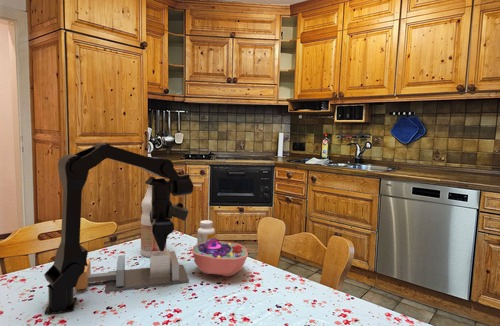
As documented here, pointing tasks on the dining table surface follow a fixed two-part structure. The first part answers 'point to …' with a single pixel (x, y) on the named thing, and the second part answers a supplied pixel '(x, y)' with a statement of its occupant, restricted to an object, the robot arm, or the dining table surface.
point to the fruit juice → (147, 226)
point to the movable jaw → (102, 275)
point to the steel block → (159, 264)
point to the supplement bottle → (205, 231)
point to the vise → (143, 280)
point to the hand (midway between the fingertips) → (160, 246)
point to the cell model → (219, 257)
